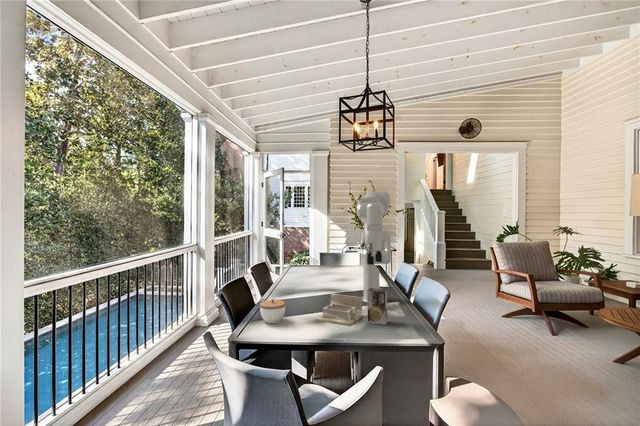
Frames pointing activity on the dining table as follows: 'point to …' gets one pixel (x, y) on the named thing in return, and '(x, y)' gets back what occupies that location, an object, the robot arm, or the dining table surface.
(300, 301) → the dining table surface
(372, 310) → the coffee box
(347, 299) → the open wooden box
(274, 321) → the lidded bowl
